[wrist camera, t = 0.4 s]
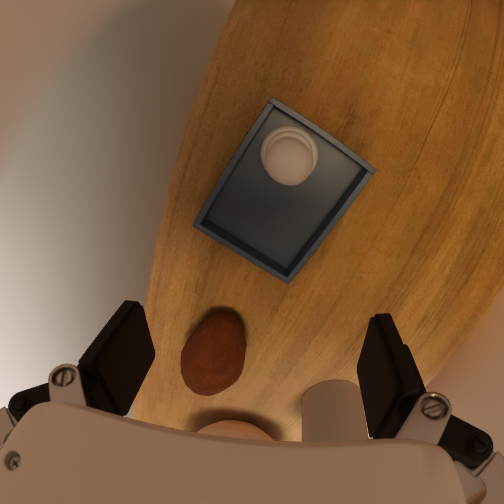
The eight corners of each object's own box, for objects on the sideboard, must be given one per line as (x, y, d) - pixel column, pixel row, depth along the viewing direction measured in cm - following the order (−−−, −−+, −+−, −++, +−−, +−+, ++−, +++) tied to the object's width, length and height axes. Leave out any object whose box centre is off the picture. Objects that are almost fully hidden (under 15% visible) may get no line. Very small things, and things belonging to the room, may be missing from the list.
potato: (263, 318, 34) (257, 366, 27) (232, 374, 39) (222, 419, 32) (203, 295, 34) (183, 338, 27) (181, 355, 39) (164, 398, 31)
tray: (272, 98, 24) (271, 96, 22) (369, 166, 26) (376, 169, 24) (198, 218, 30) (192, 226, 28) (288, 274, 32) (288, 284, 29)
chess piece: (251, 165, 27) (236, 183, 19) (275, 115, 25) (271, 110, 17) (301, 190, 27) (309, 219, 19) (327, 141, 25) (347, 149, 17)
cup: (320, 374, 37) (325, 447, 27) (371, 386, 38) (385, 452, 27) (292, 407, 41) (289, 472, 30) (340, 417, 42) (345, 478, 31)
